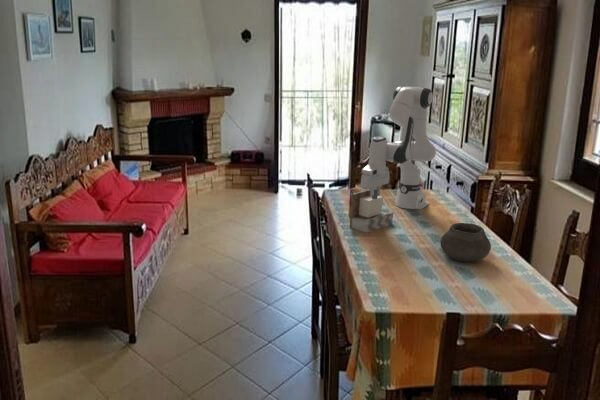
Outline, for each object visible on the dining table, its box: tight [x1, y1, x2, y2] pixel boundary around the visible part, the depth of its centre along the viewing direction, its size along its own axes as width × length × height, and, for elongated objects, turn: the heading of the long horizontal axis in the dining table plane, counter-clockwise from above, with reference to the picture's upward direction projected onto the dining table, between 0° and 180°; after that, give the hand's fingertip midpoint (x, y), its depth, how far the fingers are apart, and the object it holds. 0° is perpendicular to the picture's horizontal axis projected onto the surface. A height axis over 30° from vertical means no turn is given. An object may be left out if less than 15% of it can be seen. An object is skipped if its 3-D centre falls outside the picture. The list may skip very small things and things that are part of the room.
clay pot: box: [439, 222, 492, 263], centre depth 233 cm, size 22×21×15 cm
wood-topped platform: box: [349, 187, 394, 234], centre depth 271 cm, size 22×12×18 cm, turn 135°
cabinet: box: [359, 189, 384, 218], centre depth 271 cm, size 12×6×14 cm, turn 135°
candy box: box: [348, 187, 365, 216], centre depth 286 cm, size 9×4×15 cm, turn 39°
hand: (374, 194), depth 269 cm, fingers closed on cabinet
